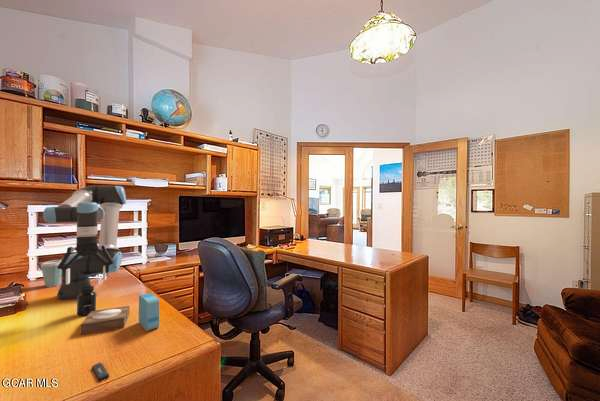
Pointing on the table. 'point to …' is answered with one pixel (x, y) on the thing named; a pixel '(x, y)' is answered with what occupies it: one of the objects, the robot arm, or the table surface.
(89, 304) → the supplement bottle
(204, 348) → the table surface
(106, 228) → the robot arm
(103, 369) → the usb stick
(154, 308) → the light-blue rounded block
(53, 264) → the disposable coffee cup
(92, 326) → the base
